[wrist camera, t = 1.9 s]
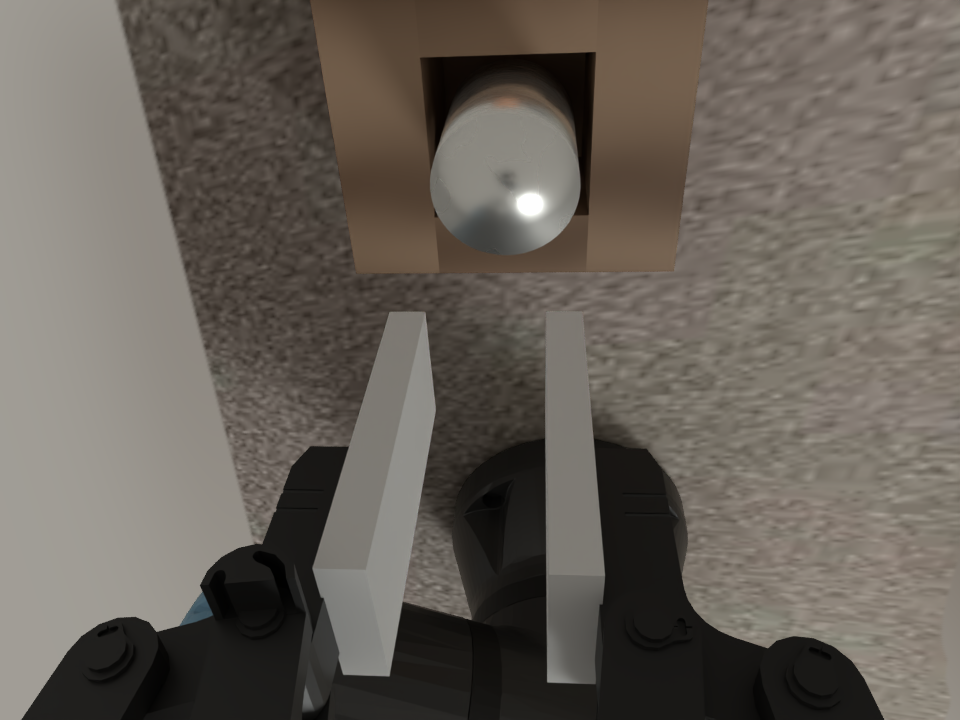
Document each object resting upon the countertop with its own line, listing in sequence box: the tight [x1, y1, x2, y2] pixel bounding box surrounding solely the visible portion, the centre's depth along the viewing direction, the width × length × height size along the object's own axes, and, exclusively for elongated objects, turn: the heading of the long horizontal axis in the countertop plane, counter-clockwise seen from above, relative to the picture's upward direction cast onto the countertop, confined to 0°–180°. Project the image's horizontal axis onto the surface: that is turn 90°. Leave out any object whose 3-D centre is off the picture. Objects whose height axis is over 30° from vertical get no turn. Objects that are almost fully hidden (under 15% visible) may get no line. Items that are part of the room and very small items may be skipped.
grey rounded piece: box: [430, 59, 580, 255], centre depth 26 cm, size 5×5×6 cm
